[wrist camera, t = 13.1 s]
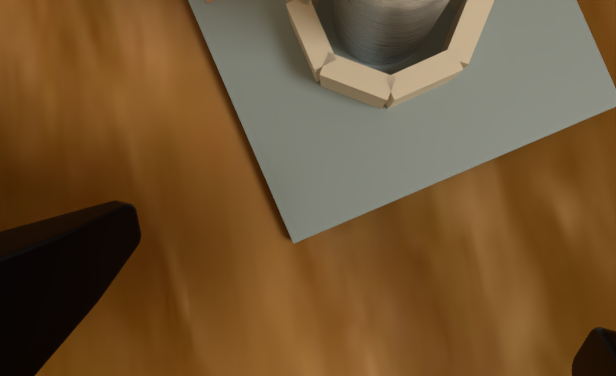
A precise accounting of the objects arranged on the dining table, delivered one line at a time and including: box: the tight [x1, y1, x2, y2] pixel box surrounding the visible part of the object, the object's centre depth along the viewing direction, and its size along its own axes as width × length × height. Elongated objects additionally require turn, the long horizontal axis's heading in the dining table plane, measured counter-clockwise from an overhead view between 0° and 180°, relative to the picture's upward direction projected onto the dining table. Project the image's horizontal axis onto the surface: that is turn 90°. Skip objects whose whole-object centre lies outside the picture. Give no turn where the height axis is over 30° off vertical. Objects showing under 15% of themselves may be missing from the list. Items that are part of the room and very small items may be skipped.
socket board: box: [188, 0, 616, 244], centre depth 17 cm, size 16×16×3 cm
